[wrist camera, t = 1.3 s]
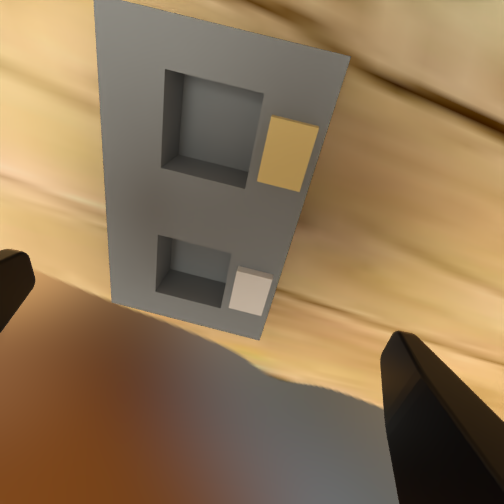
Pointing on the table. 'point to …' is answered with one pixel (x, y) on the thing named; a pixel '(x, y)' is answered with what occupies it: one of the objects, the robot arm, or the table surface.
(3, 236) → the table surface
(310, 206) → the table surface
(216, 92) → the port block
